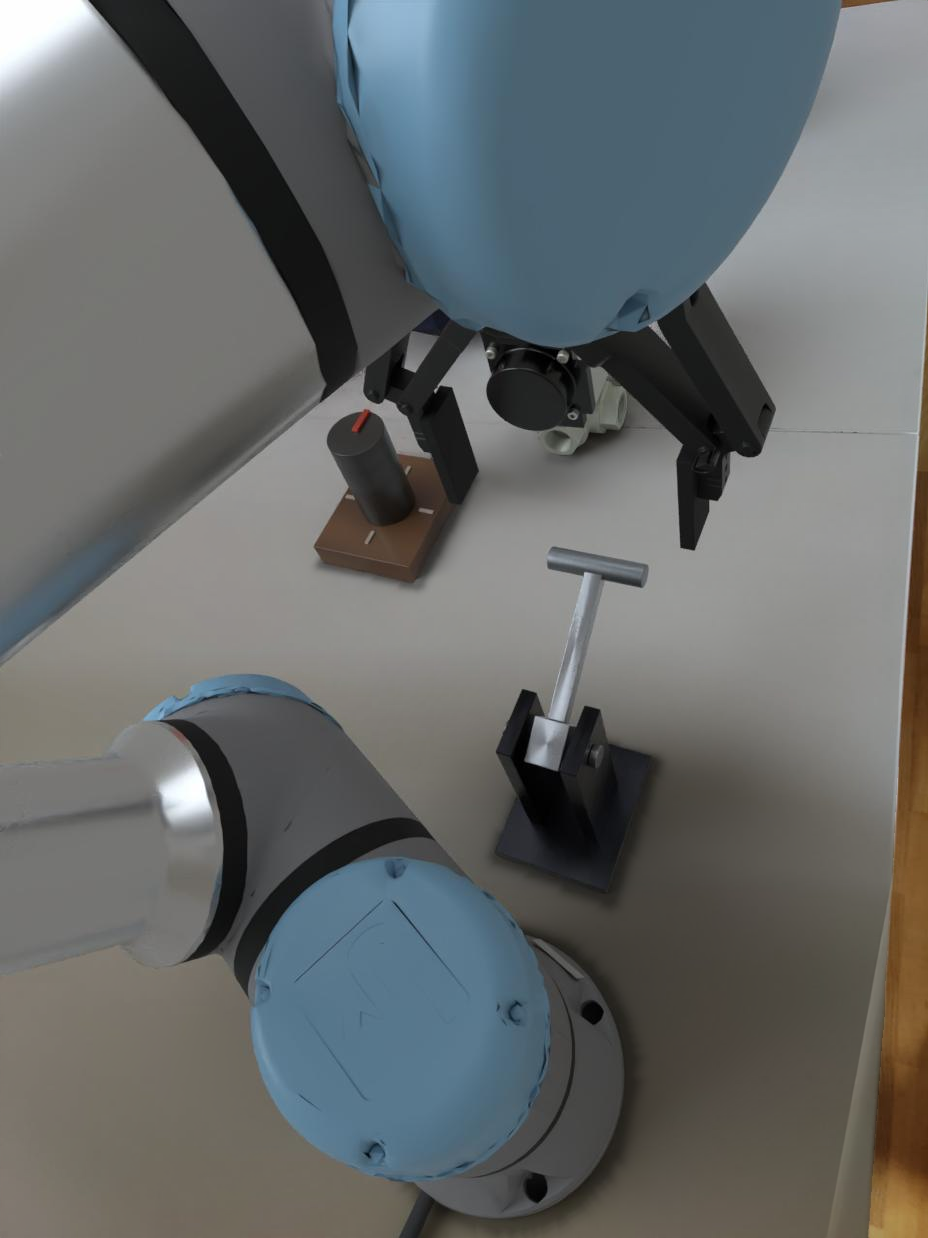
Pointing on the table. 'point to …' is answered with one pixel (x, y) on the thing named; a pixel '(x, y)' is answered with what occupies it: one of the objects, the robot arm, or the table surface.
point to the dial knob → (371, 467)
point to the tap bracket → (569, 799)
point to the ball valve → (551, 393)
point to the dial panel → (389, 529)
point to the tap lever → (576, 647)
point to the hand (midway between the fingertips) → (573, 507)
